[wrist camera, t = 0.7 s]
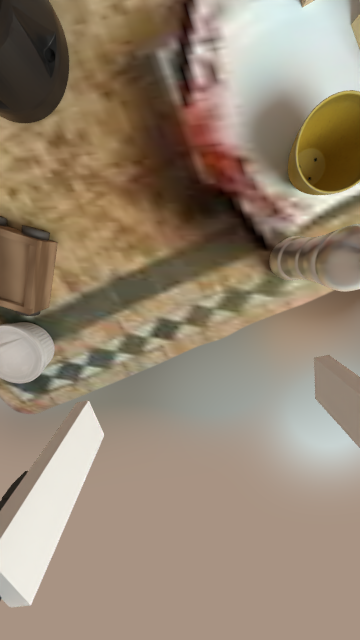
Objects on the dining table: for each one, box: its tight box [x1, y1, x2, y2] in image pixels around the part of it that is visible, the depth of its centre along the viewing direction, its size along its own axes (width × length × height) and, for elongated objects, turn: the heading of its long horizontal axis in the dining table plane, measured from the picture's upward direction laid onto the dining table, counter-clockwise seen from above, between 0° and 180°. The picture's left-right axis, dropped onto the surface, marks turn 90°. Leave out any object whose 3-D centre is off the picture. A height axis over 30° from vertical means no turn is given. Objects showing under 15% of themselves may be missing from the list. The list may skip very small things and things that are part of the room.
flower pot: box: [288, 90, 360, 195], centre depth 28 cm, size 10×10×7 cm
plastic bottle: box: [269, 224, 360, 291], centre depth 25 cm, size 6×7×20 cm
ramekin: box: [0, 322, 54, 383], centre depth 38 cm, size 11×11×5 cm
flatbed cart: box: [0, 216, 57, 316], centre depth 34 cm, size 13×14×5 cm
